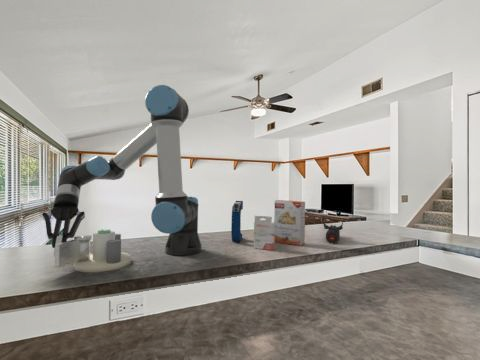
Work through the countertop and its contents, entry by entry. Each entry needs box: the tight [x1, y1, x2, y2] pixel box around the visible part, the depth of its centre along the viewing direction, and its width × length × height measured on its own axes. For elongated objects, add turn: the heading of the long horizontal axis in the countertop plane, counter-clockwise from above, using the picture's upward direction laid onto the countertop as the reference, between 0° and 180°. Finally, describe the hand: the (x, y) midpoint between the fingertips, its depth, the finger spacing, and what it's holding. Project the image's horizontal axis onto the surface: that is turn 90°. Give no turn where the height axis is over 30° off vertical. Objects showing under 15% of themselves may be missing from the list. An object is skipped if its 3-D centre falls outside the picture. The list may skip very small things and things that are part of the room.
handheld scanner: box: [230, 200, 244, 243], centre depth 139 cm, size 5×16×20 cm, turn 174°
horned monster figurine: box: [322, 220, 344, 245], centre depth 144 cm, size 10×22×10 cm, turn 158°
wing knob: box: [54, 234, 93, 268], centre depth 90 cm, size 13×5×8 cm, turn 167°
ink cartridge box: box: [253, 215, 275, 251], centre depth 123 cm, size 9×5×15 cm, turn 68°
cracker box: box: [273, 199, 306, 247], centre depth 134 cm, size 14×6×21 cm, turn 55°
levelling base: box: [73, 229, 132, 273], centre depth 96 cm, size 18×18×12 cm
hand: (57, 255), depth 86 cm, fingers closed
